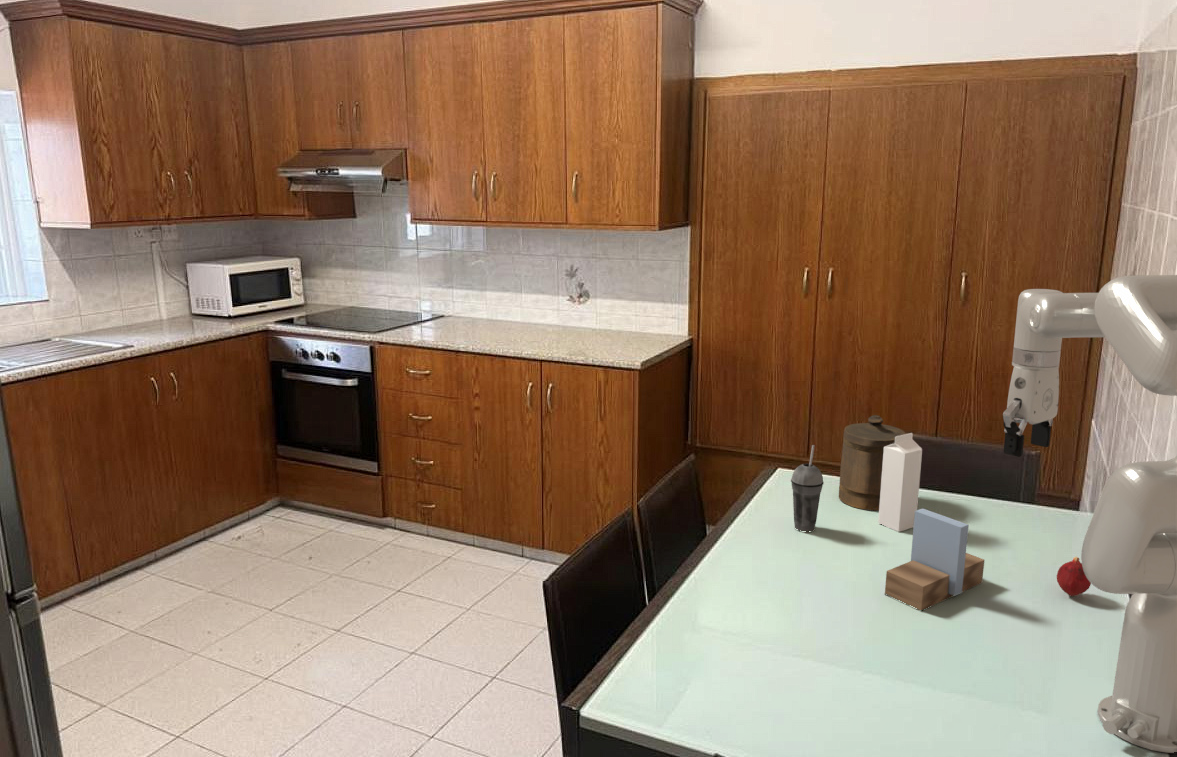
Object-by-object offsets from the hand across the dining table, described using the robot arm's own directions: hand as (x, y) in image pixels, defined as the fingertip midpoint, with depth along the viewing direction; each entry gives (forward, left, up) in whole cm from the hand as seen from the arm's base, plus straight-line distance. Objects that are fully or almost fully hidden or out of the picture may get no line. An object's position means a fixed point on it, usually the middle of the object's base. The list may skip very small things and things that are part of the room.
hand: (1026, 450), depth 157 cm
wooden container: (+21, +49, -30) cm, 61 cm away
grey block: (-8, +11, -29) cm, 32 cm away
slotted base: (-8, +11, -30) cm, 33 cm away
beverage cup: (-6, +46, -30) cm, 55 cm away
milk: (+13, +35, -30) cm, 48 cm away
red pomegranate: (+11, -6, -30) cm, 33 cm away
